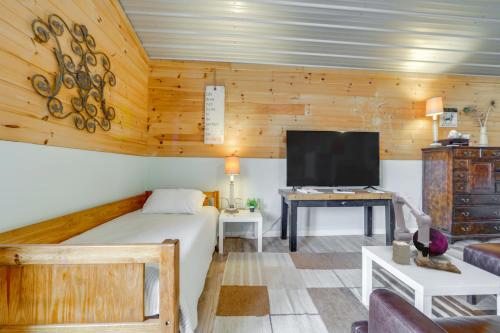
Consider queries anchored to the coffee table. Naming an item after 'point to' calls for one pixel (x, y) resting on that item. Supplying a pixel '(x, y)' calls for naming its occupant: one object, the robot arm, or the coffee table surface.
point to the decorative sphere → (434, 242)
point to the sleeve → (423, 258)
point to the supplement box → (401, 252)
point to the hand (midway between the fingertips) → (423, 254)
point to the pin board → (438, 266)
